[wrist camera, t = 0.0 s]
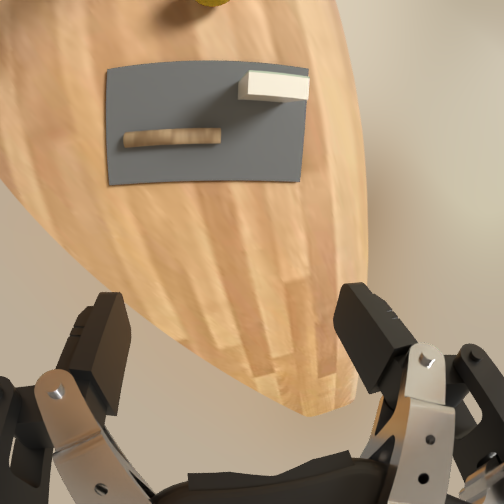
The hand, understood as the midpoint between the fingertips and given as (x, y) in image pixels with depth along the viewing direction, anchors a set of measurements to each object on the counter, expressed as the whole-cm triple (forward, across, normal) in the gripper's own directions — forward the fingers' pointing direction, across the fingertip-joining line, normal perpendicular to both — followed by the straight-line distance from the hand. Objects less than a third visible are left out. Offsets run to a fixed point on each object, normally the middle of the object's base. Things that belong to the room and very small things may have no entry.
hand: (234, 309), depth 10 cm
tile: (+29, -6, -10) cm, 31 cm away
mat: (+29, +1, -6) cm, 30 cm away
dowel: (+29, +5, -4) cm, 30 cm away
